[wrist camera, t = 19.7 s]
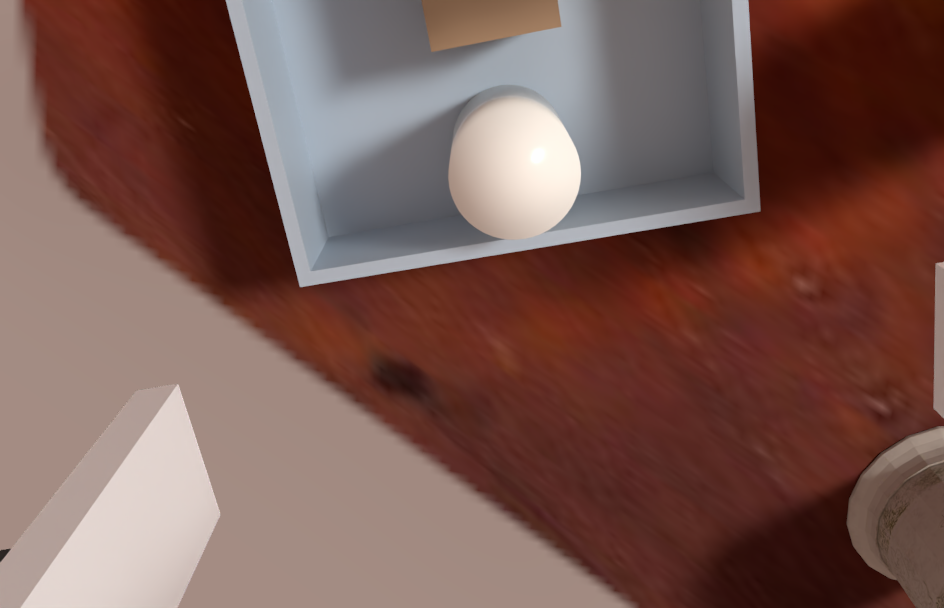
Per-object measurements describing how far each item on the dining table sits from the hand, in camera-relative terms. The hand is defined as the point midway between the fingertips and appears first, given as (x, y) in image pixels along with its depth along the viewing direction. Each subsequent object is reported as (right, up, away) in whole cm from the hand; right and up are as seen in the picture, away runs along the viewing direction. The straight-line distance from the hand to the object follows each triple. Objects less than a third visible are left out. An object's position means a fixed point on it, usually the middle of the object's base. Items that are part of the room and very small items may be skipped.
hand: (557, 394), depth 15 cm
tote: (-1, +13, +24) cm, 27 cm away
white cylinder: (0, +9, +25) cm, 26 cm away
